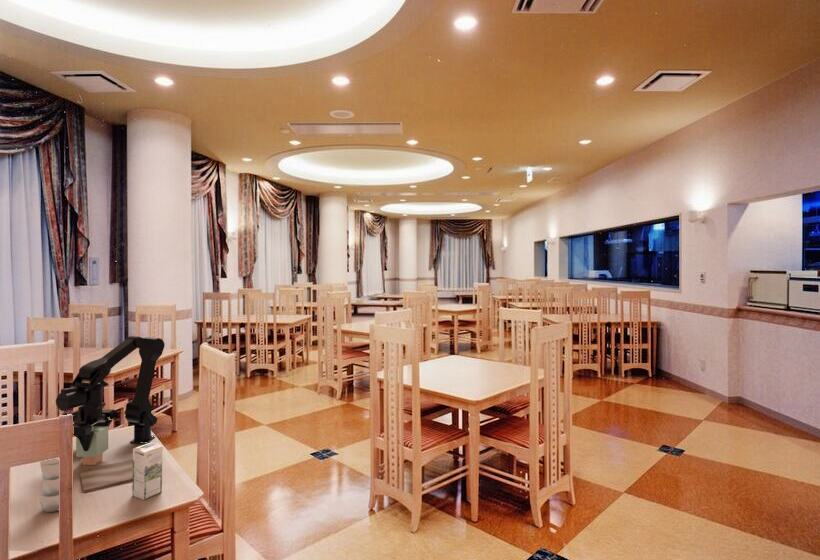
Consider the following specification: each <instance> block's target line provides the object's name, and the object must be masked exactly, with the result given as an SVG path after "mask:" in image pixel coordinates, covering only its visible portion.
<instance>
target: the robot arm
mask: <svg viewBox="0 0 820 560" xmlns="http://www.w3.org/2000/svg"><path fill="white" fill-rule="evenodd" d="M136 349H138V354H139V356H140V359H141V360H140V361H141V363H140V367H139V372H138V377H137V382H136V388H135V390H134V391H135V393H134V397H133V399H132V400H131V402H127V403H125V411H124V412H123V414H124V415H125V416H124V417H125V420H126V421H127V423H128V425H129V426H130V425H131V426H133V439H132V440H130V441H129V443H130V444H141V443H140V442H148V441H149V442H151V441H152V440H153V439H154V438H155V437H154V436H155V435H152V427H154V426H155V425H156V424H158V423H157V422H158V417H157V416H155V415H154V414H153V413H152V407H153V406H152V404H151V400H150V395H151V391H152V390H151V389H152V385H153V384H152V383H153V378H154V374H155V367H156V364H157V361H158V360H159V358H160V357H161V356H162V355H163V353H164V349H165V342H164V340H163V339H162V338H159V337H148V336H147V337H141V336H135V335H130V336H127V337H126V338H125V340H124V341H122V342H121V343H118V345H116V346H115V347H114V348H112V349H111V350H110V351H109V352H107V353H106V354H104V355H103V356H101V357H100V358H97V359H94V360H91V361H89V362H87V363H86V364H84V365H82V366H81V367H80V368H79V369H78V373H77V374H76V376H75V378H74V379H73V381H72V383H71V384H70V387H67V388H61V389H60V392H59V393H58V395H57V396H56V398H55V405H56V407H57V408H58V410H59V411H62V412H64V413H62V414H61V416H62V415H67V414H72V415H73V422H72V423H74V422H75V421H77V422H83V423H75V424H73V426H74V434H73V435H74V436H73V437H75V438H76V437H77V438H78V439H79V441H80V443H81V445H82V447H83V450H84V451H88V450H89V447H90V444H91V440H92V437H93V434H94V431H91V430H92V425H93V426H108V428H109V427H110V425H111V423H113V420H114V419H116V418H117V416H118V415H117V411H116V410H115V409H113V408H112V409H111V408H110V409H108V408H107V409H105V408H104V409H103V407H106V402H103V388H104V387H108V386H109V385H110V383H108V382H107V381H105V379H106V378H107V377H108V376H109V375H110V374H111V371H112V369H113V368H114V367H115V366H116V365H117V364H119V363H120V362H121V361H122V360H124V359H125V358H126V357H128V355H130V354H131V353H133V352H134V350H136ZM75 408H77V409H76V410H73V411H68V410H71V409H75ZM65 411H67V412H65ZM152 436H153V437H154V438H153V437H152ZM151 439H152V440H151ZM150 440H151V441H150ZM149 442H148V443H149Z"/></svg>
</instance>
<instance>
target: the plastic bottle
mask: <svg viewBox="0 0 820 560" xmlns="http://www.w3.org/2000/svg"><path fill="white" fill-rule="evenodd" d="M39 464H40V470H41V476H42V491H41V492H42V493H41V497H40V502H39V504H40V508H41V510H42V511H44V512H45V513H53V512H58V511H59V510H58V509H59V460H58V459H52V460H47V461H42V462H40V461H39Z"/></svg>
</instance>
